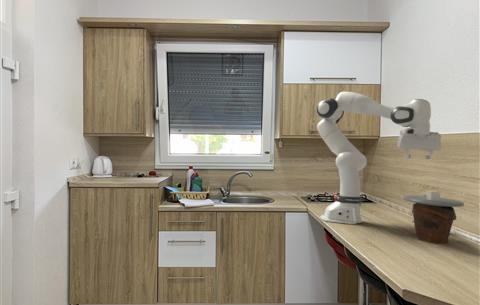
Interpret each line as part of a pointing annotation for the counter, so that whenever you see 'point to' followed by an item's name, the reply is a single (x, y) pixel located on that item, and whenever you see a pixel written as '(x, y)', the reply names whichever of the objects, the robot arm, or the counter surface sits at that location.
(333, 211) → the robot arm
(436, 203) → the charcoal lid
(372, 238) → the counter surface
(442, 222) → the brown tapered pot
